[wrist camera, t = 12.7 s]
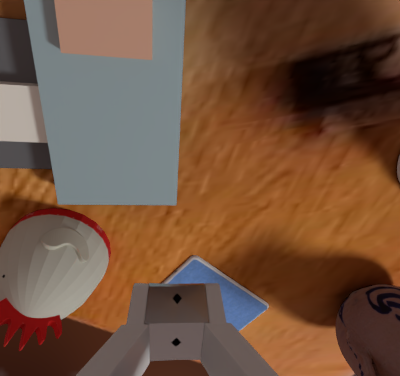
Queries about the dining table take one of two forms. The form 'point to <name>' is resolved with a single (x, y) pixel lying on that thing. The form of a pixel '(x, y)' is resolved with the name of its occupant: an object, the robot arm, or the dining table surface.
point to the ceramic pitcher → (371, 330)
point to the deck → (111, 113)
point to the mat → (23, 73)
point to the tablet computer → (230, 290)
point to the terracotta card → (106, 27)
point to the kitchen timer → (49, 270)
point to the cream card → (21, 113)
